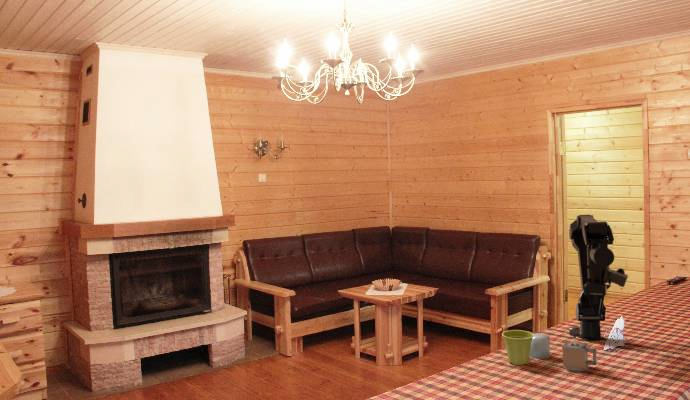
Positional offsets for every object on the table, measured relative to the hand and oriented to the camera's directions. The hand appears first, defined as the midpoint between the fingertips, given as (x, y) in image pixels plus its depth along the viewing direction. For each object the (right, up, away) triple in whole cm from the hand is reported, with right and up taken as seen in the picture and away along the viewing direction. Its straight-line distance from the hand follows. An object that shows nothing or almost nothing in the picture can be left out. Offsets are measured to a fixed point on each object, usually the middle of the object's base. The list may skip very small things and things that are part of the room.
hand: (598, 310), depth 185 cm
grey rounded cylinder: (-19, -14, 0) cm, 23 cm away
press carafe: (-11, -14, -14) cm, 23 cm away
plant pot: (-27, -15, -5) cm, 31 cm away
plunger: (-12, -12, -13) cm, 22 cm away
